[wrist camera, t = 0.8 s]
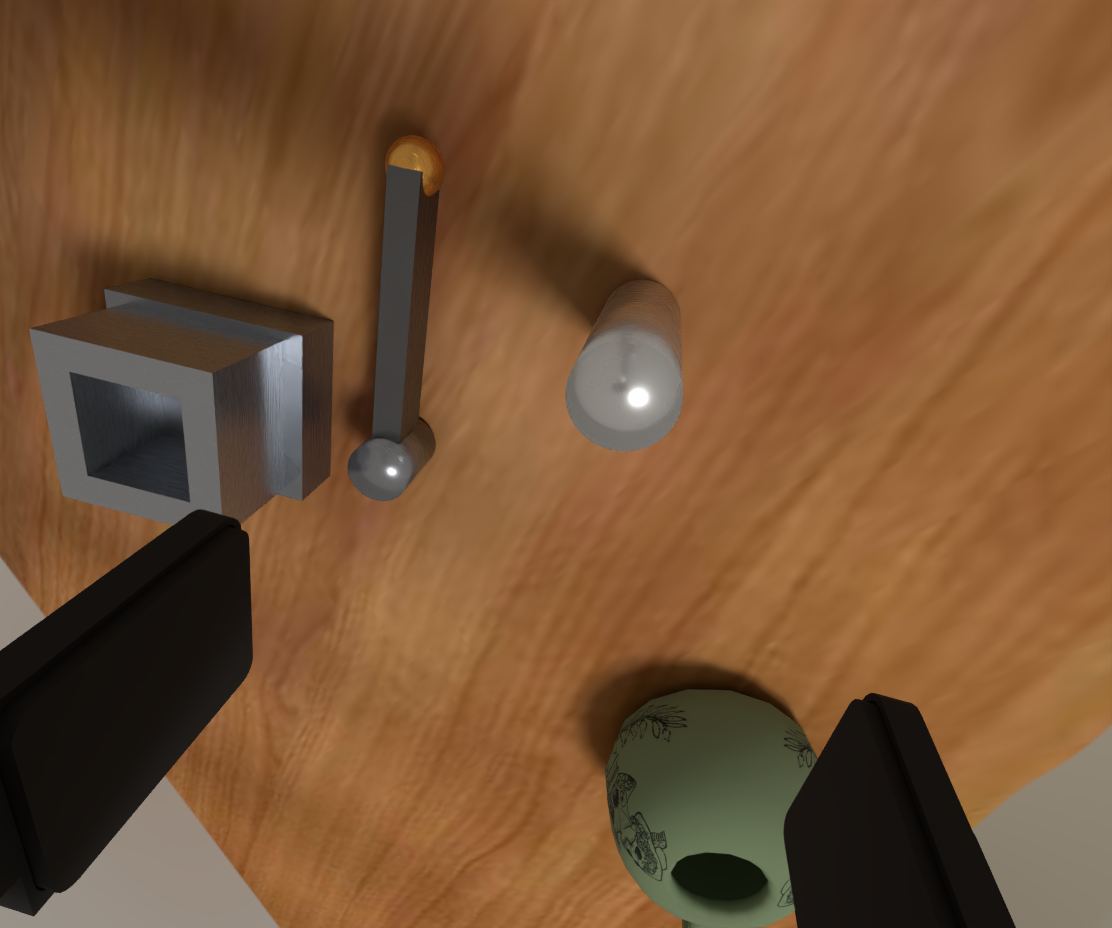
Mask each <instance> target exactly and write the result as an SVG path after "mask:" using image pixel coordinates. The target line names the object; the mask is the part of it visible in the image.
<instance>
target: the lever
mask: <svg viewBox="0 0 1112 928" xmlns="http://www.w3.org/2000/svg"><path fill="white" fill-rule="evenodd" d="M385 170H386V175H387V176H386V194H385V212H384V230H383V248H382V266H381V284H380V302H379V320H378V338H377V356H376V374H375V392H374V410H373V428H372V436H370V437H369V438H368V439H367V440H366V441H365V442H364V443H363V444H362V445H360V446H359V447H358V448H357V449H356V450H355V451H354V452H353V453H352V454H351V456H350V458H349V461H348V474H349V477H350V479H351V481H352V483H353V484H354V486H355V487H356V488H357V489H358V490H359V491H360V492H361V493H362V494H364V495H365V496H367V497H369V498H371V499H374V500H378V501H389V500H393V499H395V498H397V497H398V496H400V495H401V494H402V493H403V491H404V490H405V489H406V488H407V487H408V485H409V484H410V483H411V482H412V481H413V479H414V478H415V477H416V476H417V475H418V473H419V472H420V471H421V470H422V469H423V467H424V466H425V465H426V464H427V462H428V461H429V460H430V459H431V458H432V456H433V454H434V452H435V438H434V435H433V433H432V431H431V429H430V428H429V427H428V426H427V424H426V423H424V422H423V421H422V420H420V419H419V407H420V396H421V385H422V374H423V364H424V353H425V342H426V331H427V320H428V309H429V298H430V287H431V276H432V265H433V254H434V243H435V232H436V221H437V210H438V199H439V188H440V186H441V184H442V182H443V179H444V174H445V167H444V161H443V158H442V156H441V153H440V152H439V150H438V149H437V147H436V146H435V145H434V144H433V143H432V142H430V141H429V140H427V139H426V138H423V137H421V136H416V135H408V136H404V137H401V138H399V139H398V140H396V141H395V142H394V143H393V144H392V145H391V146H390V148H389V150H388V152H387V154H386V158H385Z"/></svg>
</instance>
